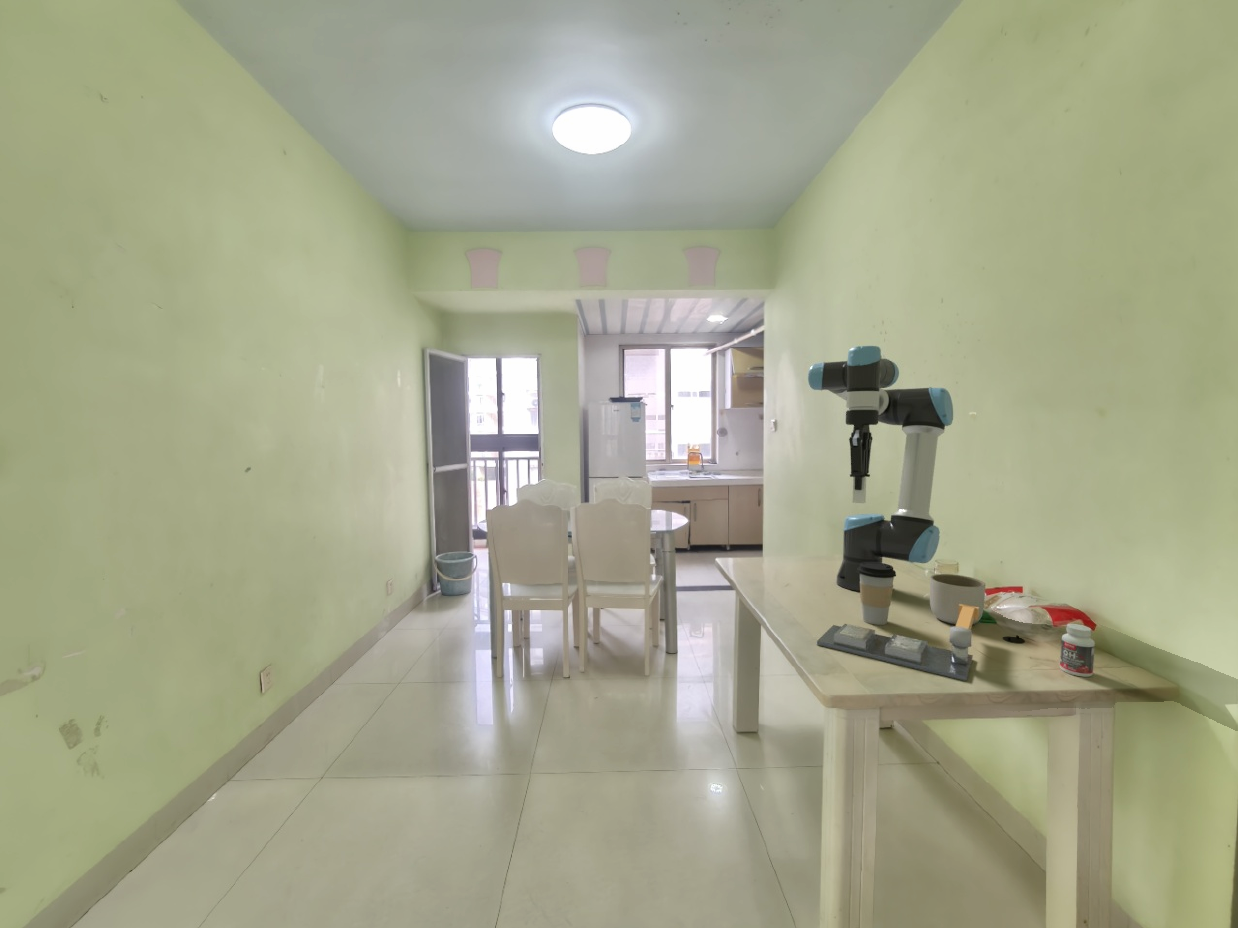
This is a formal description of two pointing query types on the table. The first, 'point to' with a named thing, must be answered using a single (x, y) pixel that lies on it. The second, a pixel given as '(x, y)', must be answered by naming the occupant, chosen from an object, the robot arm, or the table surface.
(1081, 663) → the pill bottle
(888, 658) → the grey switch panel
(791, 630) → the table surface
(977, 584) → the planter
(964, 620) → the swing arm
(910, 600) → the table surface
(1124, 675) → the table surface
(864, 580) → the coffee cup
